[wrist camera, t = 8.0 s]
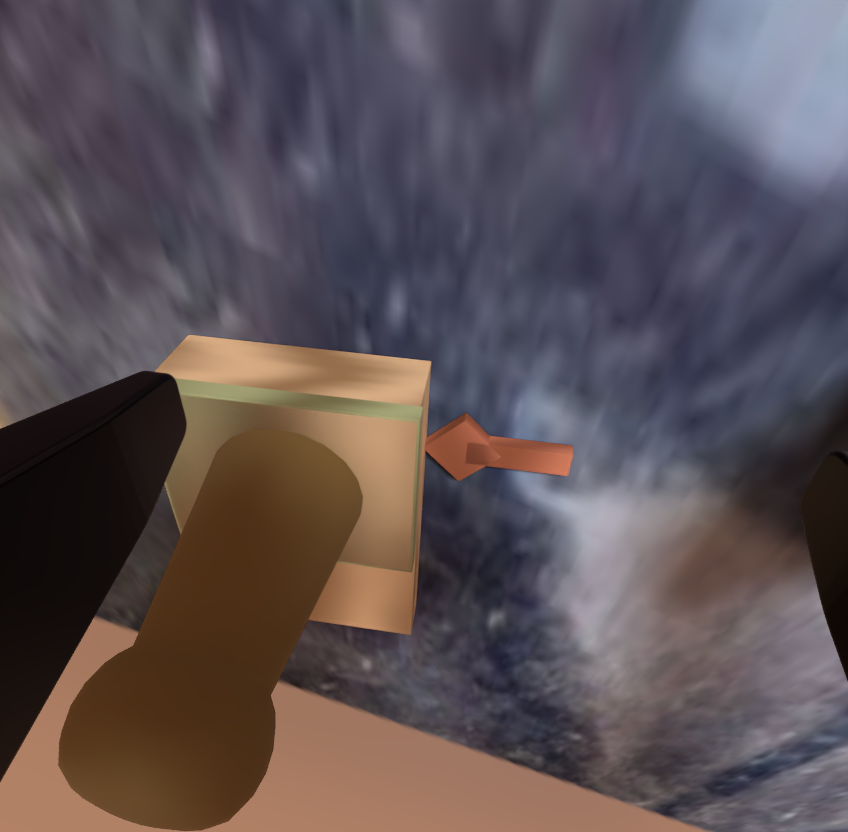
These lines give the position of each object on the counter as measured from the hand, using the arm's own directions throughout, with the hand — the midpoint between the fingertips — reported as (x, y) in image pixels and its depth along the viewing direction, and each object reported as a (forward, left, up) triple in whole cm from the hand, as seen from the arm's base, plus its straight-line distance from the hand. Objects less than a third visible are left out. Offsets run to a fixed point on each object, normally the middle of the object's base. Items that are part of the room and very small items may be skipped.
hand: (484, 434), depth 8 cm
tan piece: (+4, +15, -13) cm, 20 cm away
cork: (+7, +11, -9) cm, 16 cm away
